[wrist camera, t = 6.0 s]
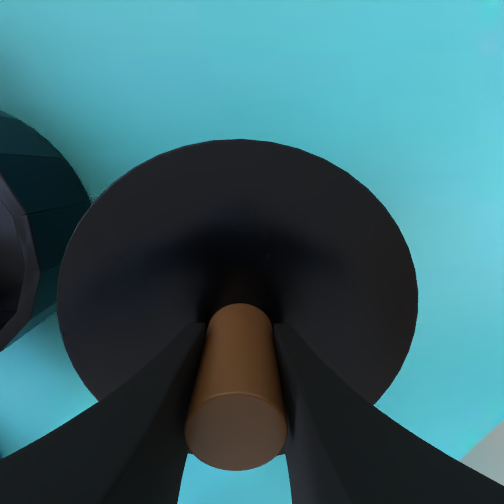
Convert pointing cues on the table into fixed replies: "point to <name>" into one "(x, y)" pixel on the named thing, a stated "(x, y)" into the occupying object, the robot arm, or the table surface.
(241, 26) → the table surface
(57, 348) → the table surface
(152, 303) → the pan lid
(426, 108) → the table surface
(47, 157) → the pan
